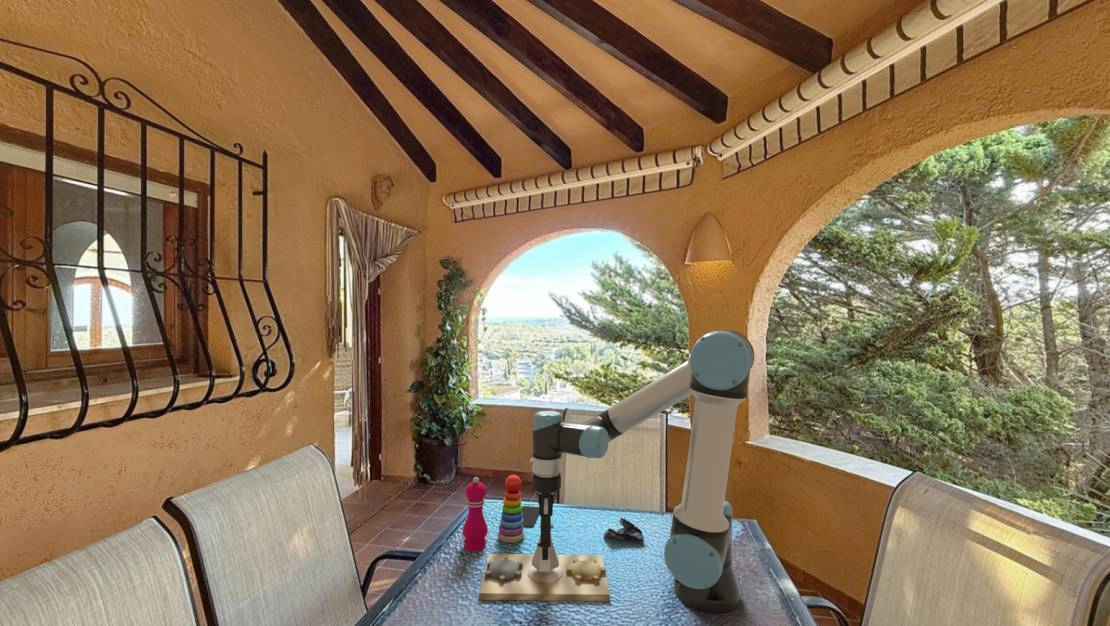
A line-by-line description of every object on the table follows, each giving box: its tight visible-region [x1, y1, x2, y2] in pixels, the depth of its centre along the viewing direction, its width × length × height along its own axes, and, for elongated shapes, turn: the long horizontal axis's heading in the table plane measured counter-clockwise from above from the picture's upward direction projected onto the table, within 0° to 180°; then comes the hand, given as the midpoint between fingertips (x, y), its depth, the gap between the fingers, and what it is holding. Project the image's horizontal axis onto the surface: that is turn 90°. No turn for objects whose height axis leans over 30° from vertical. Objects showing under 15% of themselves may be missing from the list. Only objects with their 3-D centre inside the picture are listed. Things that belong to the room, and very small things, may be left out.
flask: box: [532, 522, 559, 570], centre depth 116 cm, size 7×7×10 cm
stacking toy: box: [497, 474, 525, 544], centre depth 138 cm, size 8×8×19 cm
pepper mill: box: [462, 476, 489, 552], centre depth 133 cm, size 7×7×20 cm
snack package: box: [602, 517, 645, 543], centre depth 139 cm, size 12×6×12 cm
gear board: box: [478, 553, 611, 602], centre depth 116 cm, size 31×18×3 cm, turn 90°
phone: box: [522, 505, 540, 529], centre depth 153 cm, size 7×1×15 cm
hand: (545, 562), depth 116 cm, fingers closed on flask, 7 cm apart
